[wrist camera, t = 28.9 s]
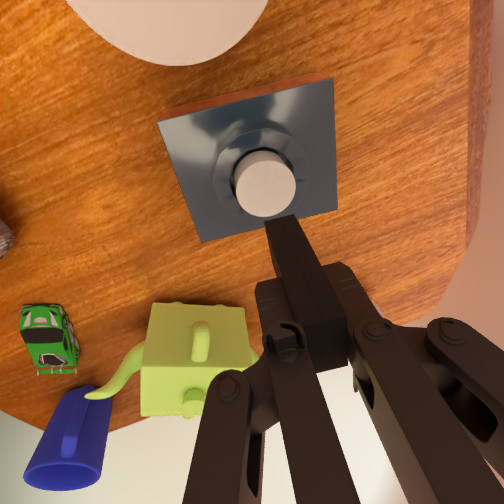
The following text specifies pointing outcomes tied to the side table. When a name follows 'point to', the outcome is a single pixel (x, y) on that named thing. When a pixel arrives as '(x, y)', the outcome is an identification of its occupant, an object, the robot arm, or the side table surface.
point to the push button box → (253, 149)
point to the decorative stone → (5, 238)
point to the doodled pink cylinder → (171, 26)
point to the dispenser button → (264, 183)
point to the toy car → (49, 338)
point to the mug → (71, 443)
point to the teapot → (183, 357)
